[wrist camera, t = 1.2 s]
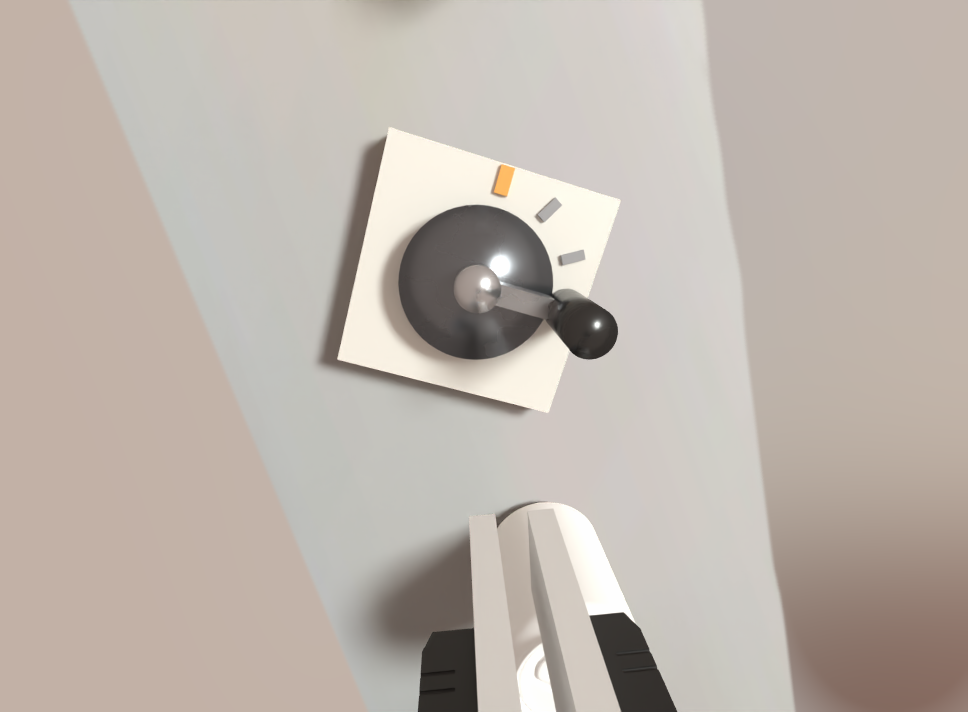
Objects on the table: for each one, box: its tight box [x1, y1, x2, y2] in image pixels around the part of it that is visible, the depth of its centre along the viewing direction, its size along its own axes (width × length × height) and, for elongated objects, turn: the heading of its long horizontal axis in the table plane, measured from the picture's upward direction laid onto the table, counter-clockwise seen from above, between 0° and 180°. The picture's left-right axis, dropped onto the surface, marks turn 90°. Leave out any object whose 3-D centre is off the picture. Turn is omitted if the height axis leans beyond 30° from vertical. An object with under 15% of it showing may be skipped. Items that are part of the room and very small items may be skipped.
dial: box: [398, 205, 618, 360], centre depth 28 cm, size 11×9×7 cm
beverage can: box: [497, 502, 635, 712], centre depth 33 cm, size 8×8×12 cm
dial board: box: [337, 127, 621, 413], centre depth 32 cm, size 14×14×2 cm
